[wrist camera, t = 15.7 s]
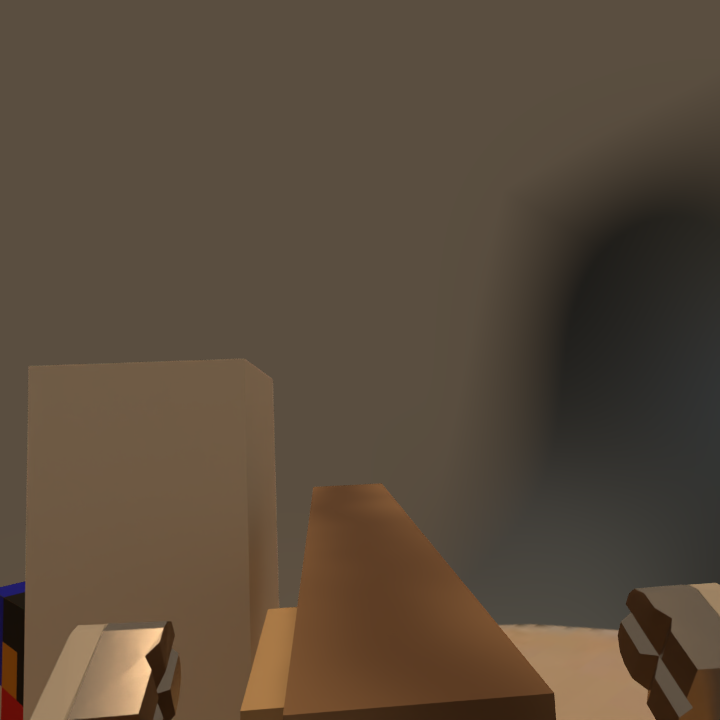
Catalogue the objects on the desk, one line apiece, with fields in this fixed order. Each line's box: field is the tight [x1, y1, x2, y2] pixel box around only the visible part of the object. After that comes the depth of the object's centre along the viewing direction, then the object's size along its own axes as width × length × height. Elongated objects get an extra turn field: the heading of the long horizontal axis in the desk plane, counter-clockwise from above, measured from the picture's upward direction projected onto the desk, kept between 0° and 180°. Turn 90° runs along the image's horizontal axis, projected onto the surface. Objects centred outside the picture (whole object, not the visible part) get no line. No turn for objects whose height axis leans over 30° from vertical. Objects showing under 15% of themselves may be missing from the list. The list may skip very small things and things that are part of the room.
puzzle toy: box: [0, 582, 25, 720], centre depth 45 cm, size 10×10×10 cm
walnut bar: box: [283, 484, 556, 720], centre depth 20 cm, size 4×24×4 cm, turn 4°
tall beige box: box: [23, 359, 279, 720], centre depth 33 cm, size 10×16×26 cm, turn 4°
